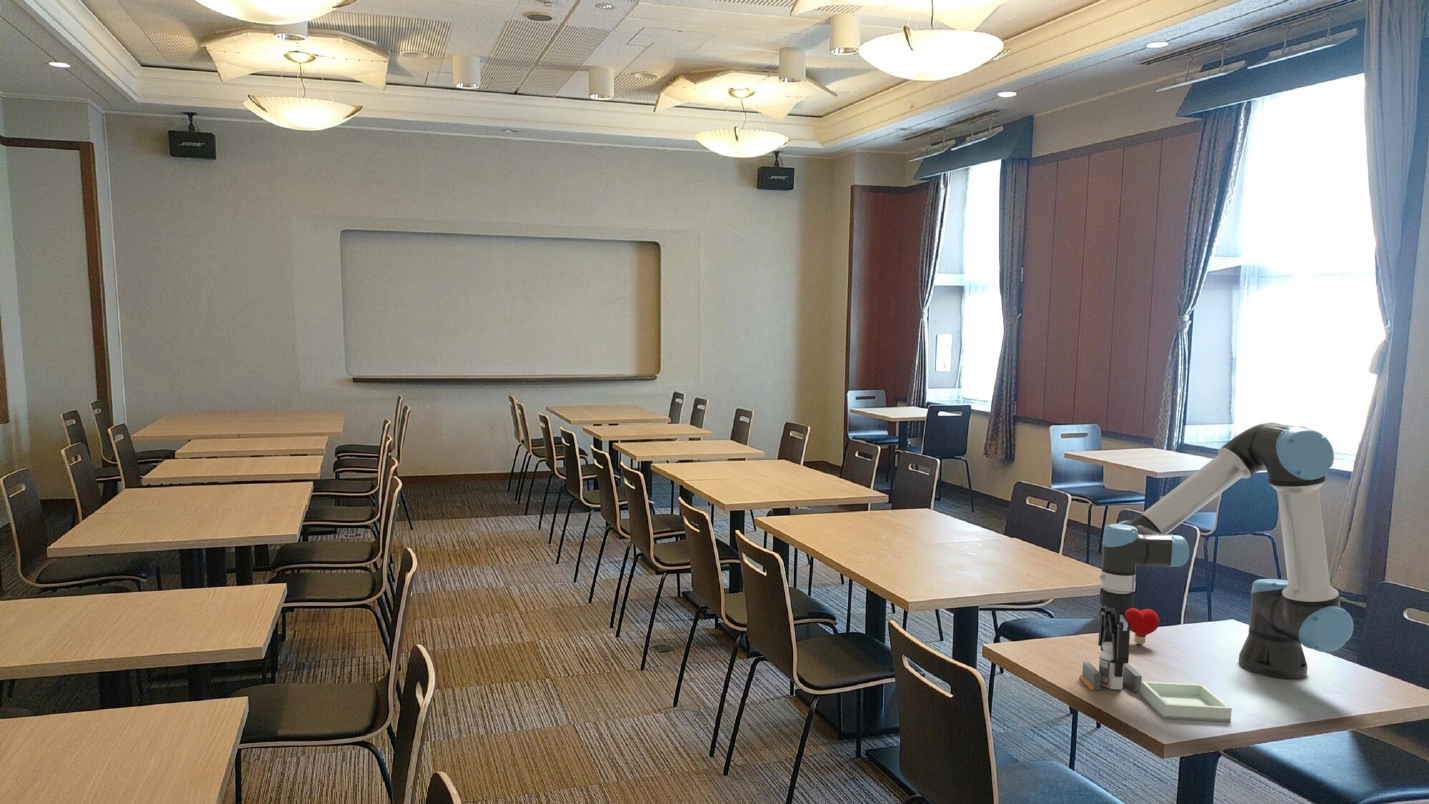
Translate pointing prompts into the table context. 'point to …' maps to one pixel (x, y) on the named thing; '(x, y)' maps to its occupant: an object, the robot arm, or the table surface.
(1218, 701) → the tray
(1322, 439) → the robot arm
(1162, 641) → the table surface
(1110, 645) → the pill bottle
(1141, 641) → the red heart bulb
